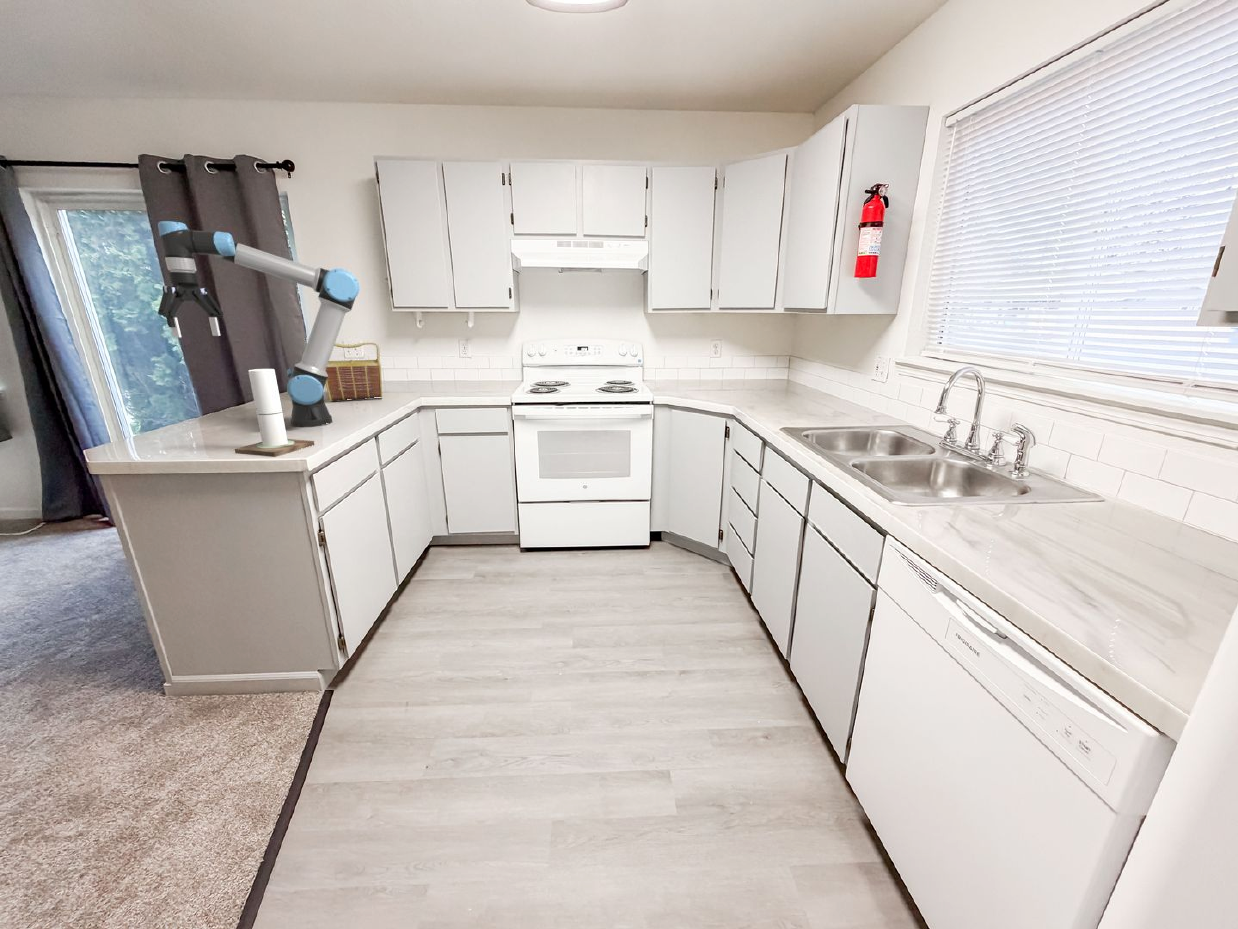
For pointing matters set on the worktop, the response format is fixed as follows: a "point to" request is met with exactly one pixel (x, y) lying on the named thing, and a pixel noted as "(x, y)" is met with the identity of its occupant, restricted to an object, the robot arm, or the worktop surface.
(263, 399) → the cylindrical container
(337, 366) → the picnic basket
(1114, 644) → the worktop surface
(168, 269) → the robot arm
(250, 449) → the board
